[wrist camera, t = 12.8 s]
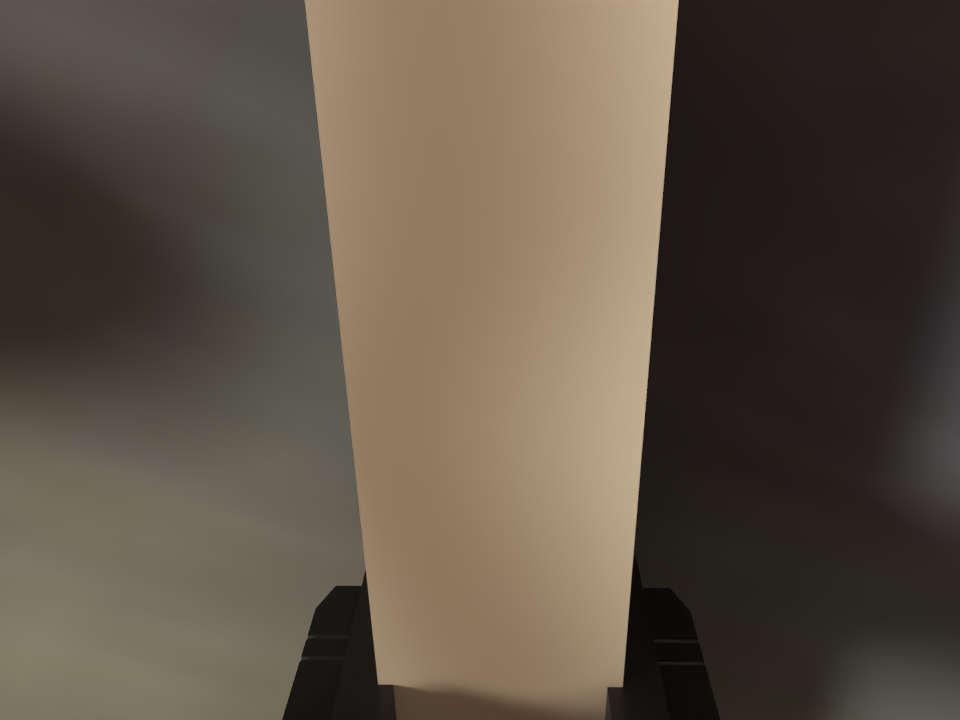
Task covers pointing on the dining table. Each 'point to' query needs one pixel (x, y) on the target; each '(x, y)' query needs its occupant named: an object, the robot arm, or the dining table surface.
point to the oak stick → (496, 331)
